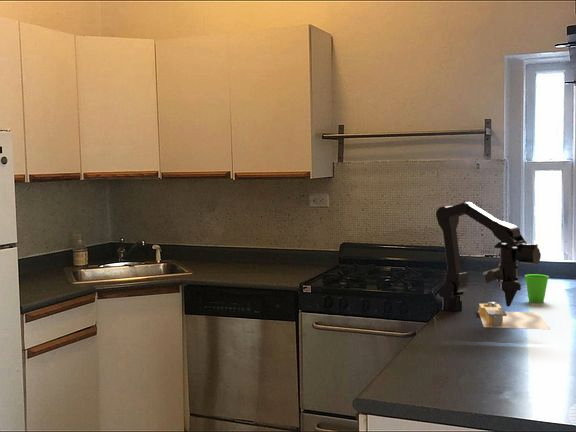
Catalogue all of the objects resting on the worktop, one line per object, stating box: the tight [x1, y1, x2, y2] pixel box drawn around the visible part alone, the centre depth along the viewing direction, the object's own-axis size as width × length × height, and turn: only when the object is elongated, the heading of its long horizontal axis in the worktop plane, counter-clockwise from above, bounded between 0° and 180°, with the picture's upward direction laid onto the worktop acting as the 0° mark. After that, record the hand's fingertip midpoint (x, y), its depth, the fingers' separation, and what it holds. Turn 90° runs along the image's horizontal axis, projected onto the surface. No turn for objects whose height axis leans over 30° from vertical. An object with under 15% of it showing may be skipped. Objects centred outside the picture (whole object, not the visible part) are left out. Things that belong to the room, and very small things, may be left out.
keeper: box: [486, 310, 507, 327], centre depth 234 cm, size 7×6×4 cm
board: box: [477, 310, 551, 330], centre depth 241 cm, size 21×25×1 cm
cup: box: [524, 273, 550, 304], centre depth 270 cm, size 9×9×11 cm
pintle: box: [487, 301, 497, 307], centre depth 250 cm, size 3×3×4 cm
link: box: [478, 303, 503, 324], centre depth 244 cm, size 19×7×3 cm, turn 171°
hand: (508, 306), depth 241 cm, fingers closed
